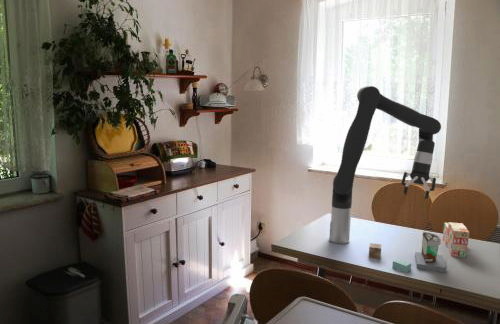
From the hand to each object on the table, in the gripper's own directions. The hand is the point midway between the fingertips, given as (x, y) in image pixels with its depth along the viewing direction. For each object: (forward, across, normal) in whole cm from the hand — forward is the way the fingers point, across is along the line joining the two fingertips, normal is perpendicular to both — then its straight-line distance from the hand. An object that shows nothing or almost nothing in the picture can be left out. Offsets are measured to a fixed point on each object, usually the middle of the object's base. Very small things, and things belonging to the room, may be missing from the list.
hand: (415, 196), depth 190 cm
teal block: (+29, -1, -23) cm, 37 cm away
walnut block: (+29, -12, -13) cm, 34 cm away
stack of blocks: (+21, +22, +10) cm, 32 cm away
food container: (+24, +10, -13) cm, 29 cm away
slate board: (+26, +10, -13) cm, 31 cm away
